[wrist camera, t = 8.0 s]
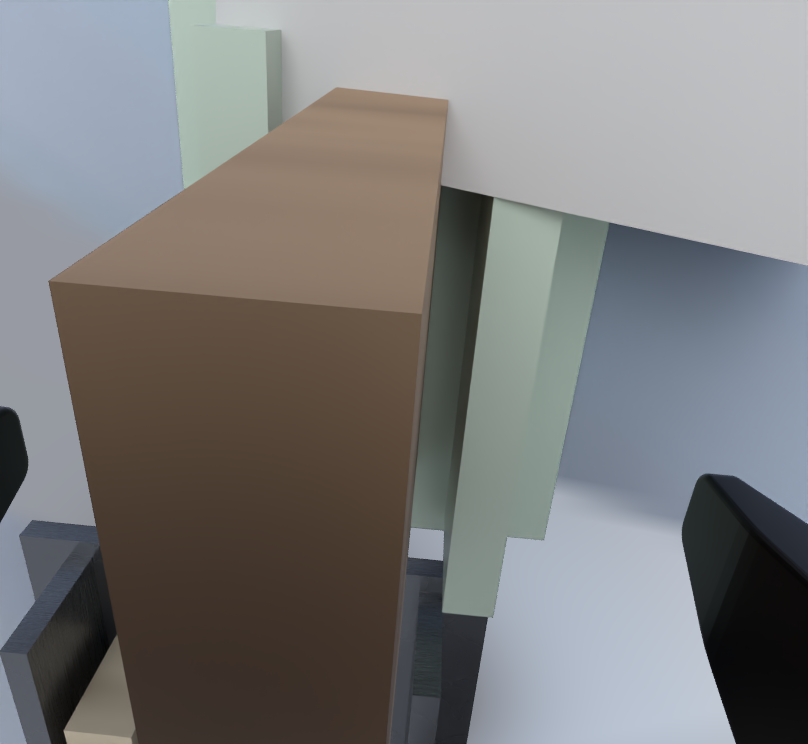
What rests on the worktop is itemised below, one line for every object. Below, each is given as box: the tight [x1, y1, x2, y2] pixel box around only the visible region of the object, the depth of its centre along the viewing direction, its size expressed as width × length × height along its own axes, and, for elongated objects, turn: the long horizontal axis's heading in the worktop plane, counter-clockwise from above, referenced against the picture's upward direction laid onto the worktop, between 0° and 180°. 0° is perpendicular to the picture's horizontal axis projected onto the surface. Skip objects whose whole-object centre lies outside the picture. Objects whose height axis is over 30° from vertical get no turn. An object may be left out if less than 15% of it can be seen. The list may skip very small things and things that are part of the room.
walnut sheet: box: [49, 87, 448, 744], centre depth 9 cm, size 8×2×10 cm, turn 176°
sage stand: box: [168, 0, 610, 618], centre depth 13 cm, size 11×8×4 cm
